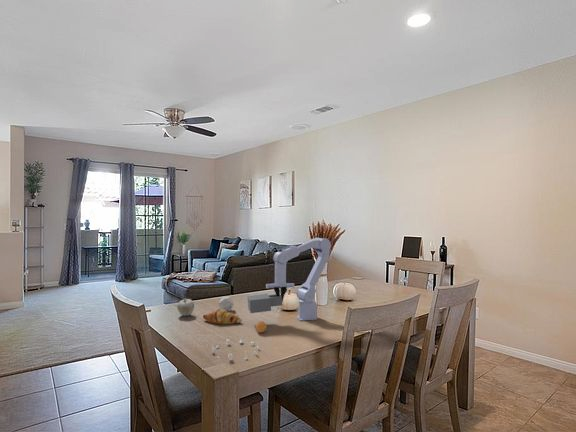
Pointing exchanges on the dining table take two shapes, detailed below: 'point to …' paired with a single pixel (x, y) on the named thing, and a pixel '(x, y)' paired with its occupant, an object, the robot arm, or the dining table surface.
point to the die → (226, 303)
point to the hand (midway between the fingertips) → (280, 301)
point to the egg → (261, 327)
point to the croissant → (222, 317)
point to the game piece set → (231, 354)
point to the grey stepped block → (263, 302)
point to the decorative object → (185, 307)
